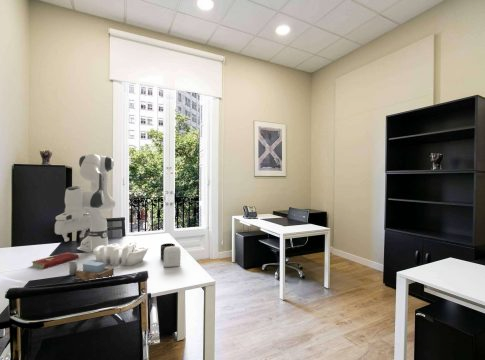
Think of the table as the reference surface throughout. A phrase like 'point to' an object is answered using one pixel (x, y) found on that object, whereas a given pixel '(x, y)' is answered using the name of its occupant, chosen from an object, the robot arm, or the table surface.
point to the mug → (164, 248)
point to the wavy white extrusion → (120, 254)
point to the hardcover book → (55, 260)
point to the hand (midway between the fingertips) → (74, 239)
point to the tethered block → (87, 267)
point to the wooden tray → (94, 274)
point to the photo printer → (172, 256)
